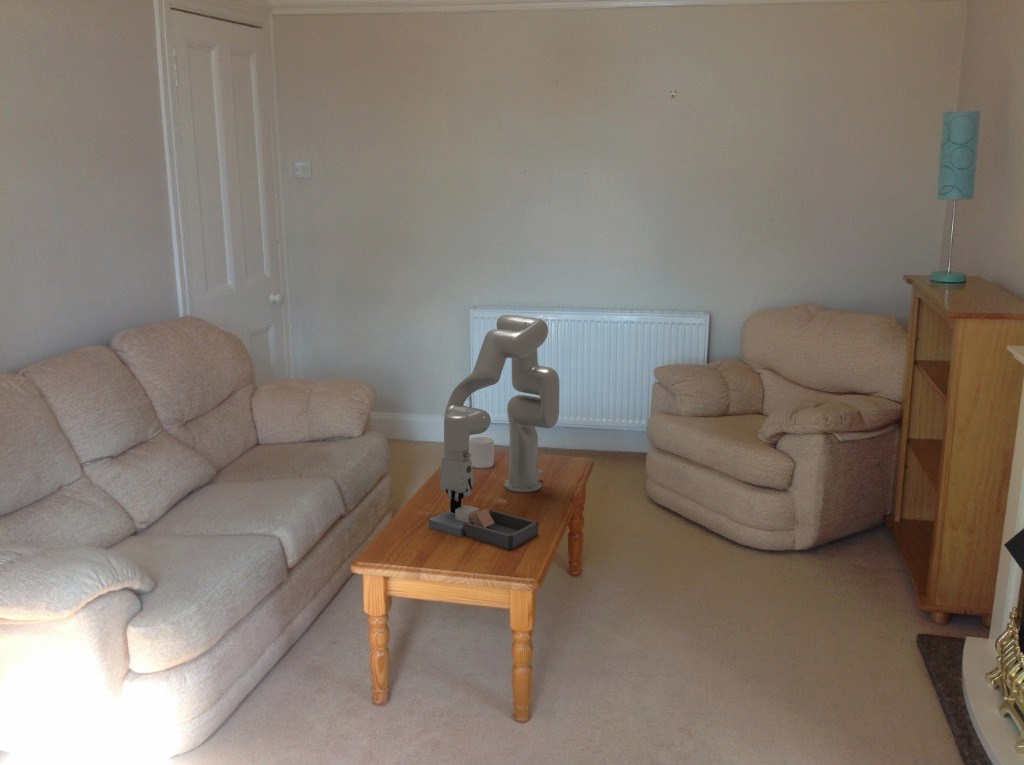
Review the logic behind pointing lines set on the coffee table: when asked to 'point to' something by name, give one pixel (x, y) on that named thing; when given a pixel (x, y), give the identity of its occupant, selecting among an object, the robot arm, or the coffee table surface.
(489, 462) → the mug
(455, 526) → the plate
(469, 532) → the box
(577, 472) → the coffee table surface
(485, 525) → the tile
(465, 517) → the tile
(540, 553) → the coffee table surface
